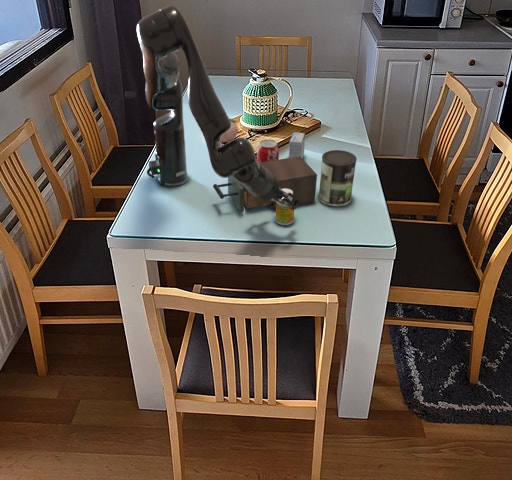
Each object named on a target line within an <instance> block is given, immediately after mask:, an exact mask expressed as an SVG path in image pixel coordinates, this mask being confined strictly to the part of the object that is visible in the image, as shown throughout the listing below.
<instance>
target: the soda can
mask: <svg viewBox="0 0 512 480" xmlns="http://www.w3.org/2000/svg"><path fill="white" fill-rule="evenodd" d="M279 155H280V147H279V146H278V142H277V141H276V140H274V139H262V140H261V141H259V143H258V146H257V149H256V159H257V161H258V162H259V163H260V162H266V161H273V160H279V159H280V156H279Z"/></svg>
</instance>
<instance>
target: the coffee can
mask: <svg viewBox="0 0 512 480" xmlns="http://www.w3.org/2000/svg"><path fill="white" fill-rule="evenodd" d="M356 165H357V156H356V155H355V154H354V153H352V152H350V151H346V150H342V149H341V150H340V149H333V150H328V151H325V152H324V153H322V156H321V170H320V180H319V192H318V200H319V201H320V202H321V203H322V204H324V205H326V206H329V207H344V206H347V205H349V204H350V203H351V201H352V194H353V193H352V192H353V188H354V187H353V186H354V179H355V171H356Z"/></svg>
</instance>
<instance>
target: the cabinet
mask: <svg viewBox="0 0 512 480" xmlns="http://www.w3.org/2000/svg"><path fill="white" fill-rule="evenodd" d="M260 164H261V165H262V166H264V167H265V168H267V169H268V170H269V171H270V172H271V173H272V174H273V175H274V176H275V177H276V178H277V180H278V182H279V187H280V188H281V189H290V190H292V191H293V195H294V196H295V197H296V198H297V199H298V200H299V202H298V204H297V207H298V206H304V205H310V204H315V202H316V192H317V181H318V174H317V172H316V171H314V169H313V168H312V167H311V166H310V165H309V164H308V163H307V162H306V160H304V158H303V159H302V158H301V157H300V156H298V157H292V158H289V157H286V158H279V160H273V161H266V162H260ZM269 207H270V208H271V209H272V210H273V211H276V201H273V204H270V205H269Z"/></svg>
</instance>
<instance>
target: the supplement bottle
mask: <svg viewBox="0 0 512 480" xmlns="http://www.w3.org/2000/svg"><path fill="white" fill-rule="evenodd" d="M281 190H283V191H285V192H287V193H292V194H293V191H292V190H290V189H281ZM281 200H282V199H280V200H279V201H281ZM286 203H287V202H286ZM294 220H295V210H291V209H290V208H289V207H288V206H286V205H285V204H284V205H281V204H279V203H277V202H276V210H275V222H276V223H277V224H279V225H281V226H289V225H291V224H293V223H294V222H295V221H294Z"/></svg>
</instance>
